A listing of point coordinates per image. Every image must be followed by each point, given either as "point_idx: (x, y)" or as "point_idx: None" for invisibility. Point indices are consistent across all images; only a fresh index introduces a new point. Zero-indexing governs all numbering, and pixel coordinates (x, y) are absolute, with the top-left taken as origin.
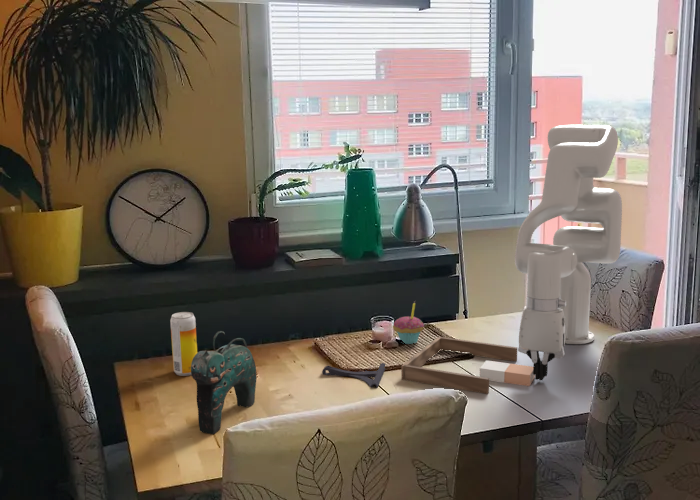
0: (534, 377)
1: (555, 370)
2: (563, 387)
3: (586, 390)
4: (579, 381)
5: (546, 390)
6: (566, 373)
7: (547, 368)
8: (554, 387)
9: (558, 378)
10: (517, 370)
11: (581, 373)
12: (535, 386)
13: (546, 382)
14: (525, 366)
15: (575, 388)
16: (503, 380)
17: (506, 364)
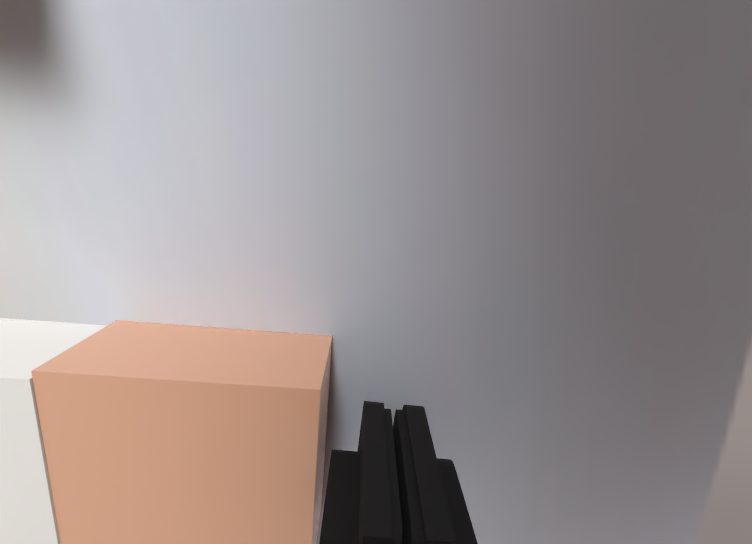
0: (330, 356)
1: (499, 89)
2: (557, 461)
3: (713, 466)
4: (692, 313)
5: None
6: (602, 146)
7: (464, 502)
8: (493, 479)
9: (525, 297)
10: (170, 530)
11: (748, 99)
12: None
13: (432, 408)
14: (216, 407)
15: (640, 454)
16: None
17: (1, 417)
